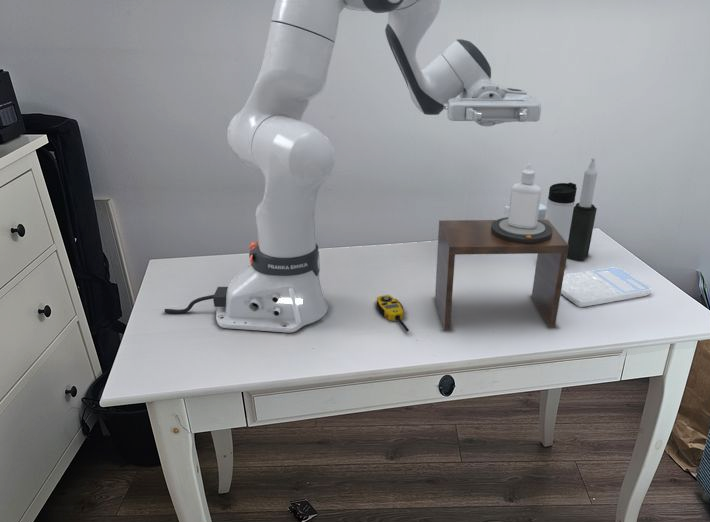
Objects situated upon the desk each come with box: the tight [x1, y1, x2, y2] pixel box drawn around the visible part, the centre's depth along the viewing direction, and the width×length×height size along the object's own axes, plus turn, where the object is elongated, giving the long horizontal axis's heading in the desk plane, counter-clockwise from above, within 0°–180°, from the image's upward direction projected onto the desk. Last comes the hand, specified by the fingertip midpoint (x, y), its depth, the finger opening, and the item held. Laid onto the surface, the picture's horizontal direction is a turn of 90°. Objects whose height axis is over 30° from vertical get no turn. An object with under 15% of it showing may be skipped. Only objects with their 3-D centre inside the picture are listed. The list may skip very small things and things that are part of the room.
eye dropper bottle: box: [508, 163, 542, 229], centre depth 118 cm, size 4×6×12 cm
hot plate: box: [491, 217, 553, 244], centre depth 122 cm, size 12×12×1 cm
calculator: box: [561, 266, 652, 308], centre depth 142 cm, size 13×20×2 cm, turn 112°
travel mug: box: [545, 181, 578, 244], centre depth 148 cm, size 6×7×20 cm
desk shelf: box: [434, 219, 569, 332], centre depth 127 cm, size 23×14×18 cm, turn 96°
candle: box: [567, 157, 598, 262], centre depth 152 cm, size 5×5×25 cm
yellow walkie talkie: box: [376, 294, 410, 333], centre depth 128 cm, size 5×2×15 cm
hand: (500, 117), depth 128 cm, fingers open, 8 cm apart
